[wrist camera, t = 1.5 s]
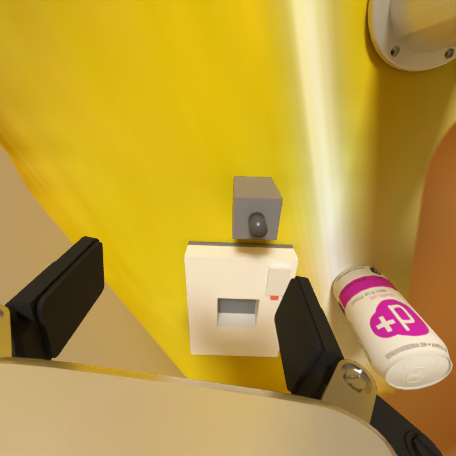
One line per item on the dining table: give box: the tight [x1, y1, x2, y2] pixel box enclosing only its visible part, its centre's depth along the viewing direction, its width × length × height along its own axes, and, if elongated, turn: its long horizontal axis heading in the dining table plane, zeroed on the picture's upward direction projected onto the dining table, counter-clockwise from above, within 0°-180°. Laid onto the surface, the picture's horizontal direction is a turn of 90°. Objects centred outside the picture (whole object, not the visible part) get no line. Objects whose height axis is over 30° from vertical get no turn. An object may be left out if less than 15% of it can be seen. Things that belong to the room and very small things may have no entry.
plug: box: [232, 176, 283, 240], centre depth 28 cm, size 5×5×10 cm
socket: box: [184, 241, 298, 357], centre depth 39 cm, size 16×22×5 cm
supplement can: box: [333, 266, 453, 390], centre depth 33 cm, size 8×8×15 cm
